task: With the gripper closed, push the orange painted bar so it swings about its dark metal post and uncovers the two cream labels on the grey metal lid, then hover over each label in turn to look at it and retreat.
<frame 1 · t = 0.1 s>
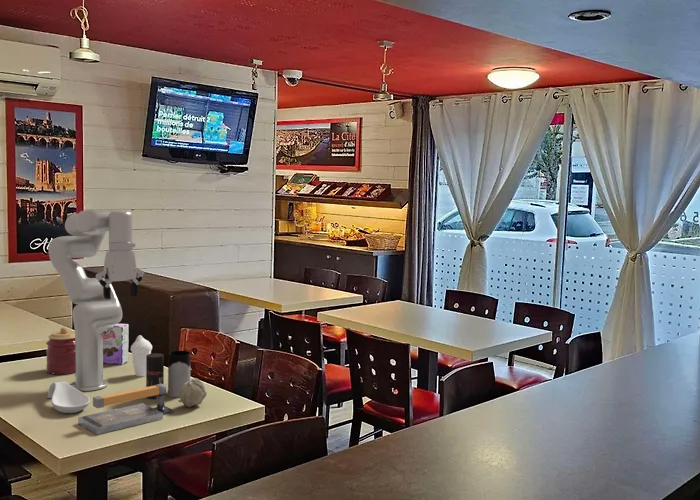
hand: (120, 297, 232), 37 cm above the table, tool pointing down, fingers open, 9 cm apart
deodorant: (154, 397, 242), on the table
post: (160, 411, 226), on the table
candy box: (110, 362, 287), on the table
spoon rest: (64, 407, 230), on the table
soft serve ice cream cone: (141, 375, 269), on the table
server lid: (121, 421, 216), on the table
garlic bulb: (192, 407, 233), on the table
canister: (64, 371, 272), on the table
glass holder: (179, 391, 250), on the table
cable arm: (131, 395, 218), point 8 cm above the table, hinge at 0.0°
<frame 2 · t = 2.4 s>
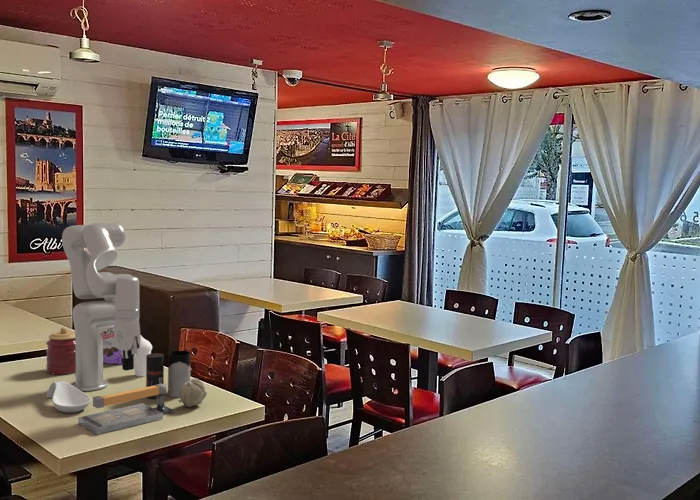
hand: (128, 369, 224), 14 cm above the table, tool pointing down, fingers closed
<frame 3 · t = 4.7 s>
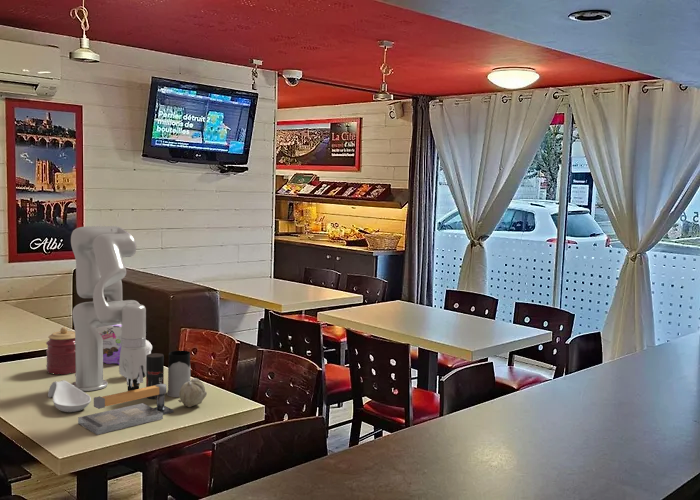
hand: (133, 397, 222), 6 cm above the table, tool pointing down, fingers closed
cable arm: (132, 395, 218), point 8 cm above the table, hinge at 1.6°, touching gripper
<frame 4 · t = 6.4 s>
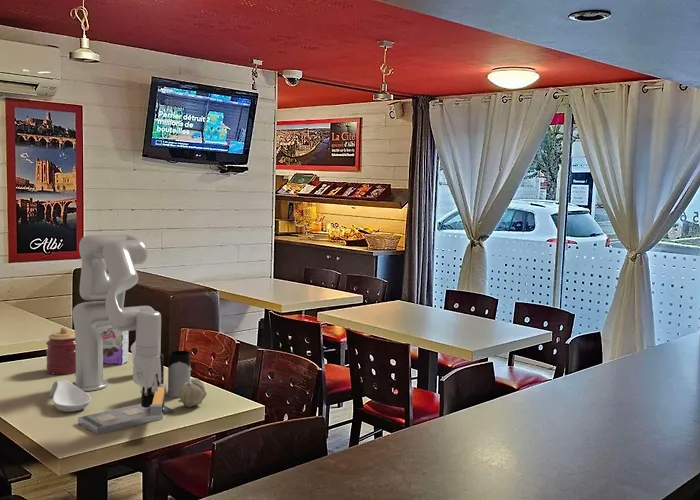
hand: (147, 406, 216), 5 cm above the table, tool pointing down, fingers closed
cable arm: (158, 398, 216), point 8 cm above the table, hinge at 56.1°, touching gripper
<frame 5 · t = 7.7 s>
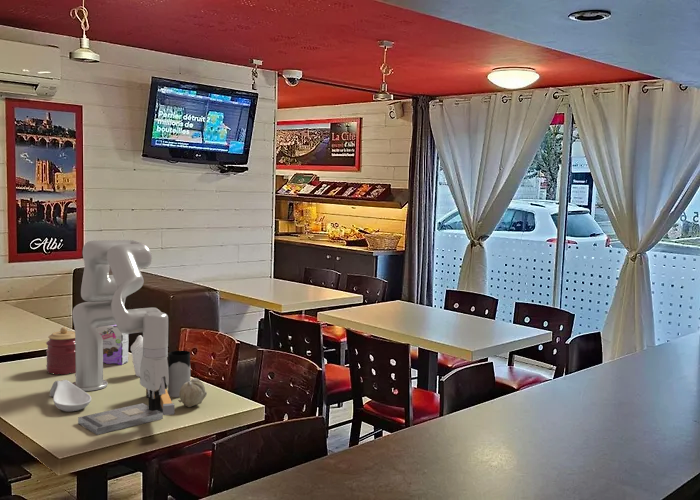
hand: (154, 409, 213), 5 cm above the table, tool pointing down, fingers closed
cable arm: (164, 398, 216), point 8 cm above the table, hinge at 66.0°, touching gripper
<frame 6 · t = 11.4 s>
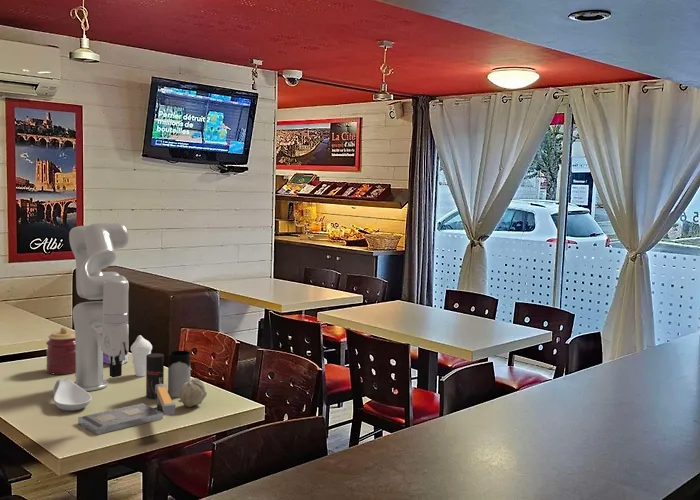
hand: (115, 376, 214), 15 cm above the table, tool pointing down, fingers closed
cable arm: (164, 398, 216), point 8 cm above the table, hinge at 66.6°
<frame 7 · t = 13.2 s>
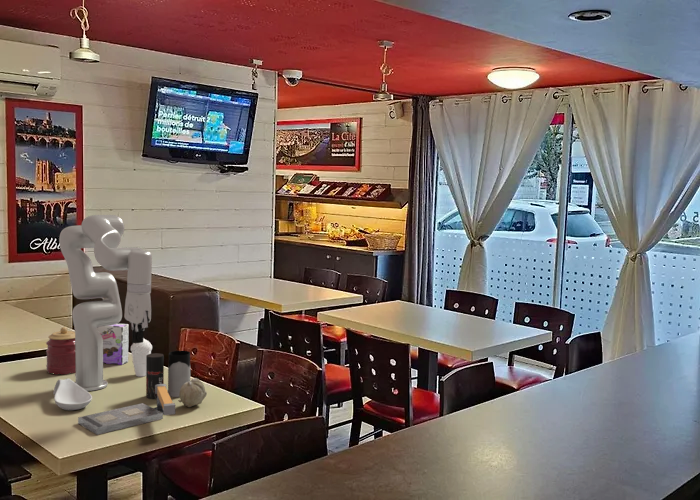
hand: (137, 342, 226), 23 cm above the table, tool pointing down, fingers closed
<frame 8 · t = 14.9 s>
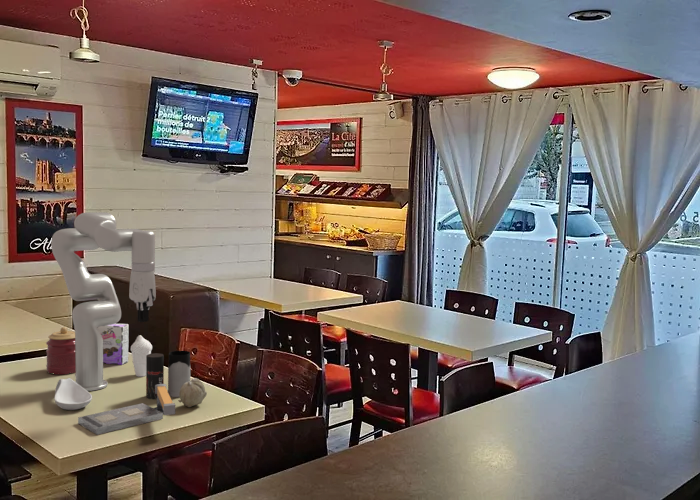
hand: (143, 321, 230), 29 cm above the table, tool pointing down, fingers closed
at the end: cable arm at +67° (first picture: +0°); the gripper is holding nothing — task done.
